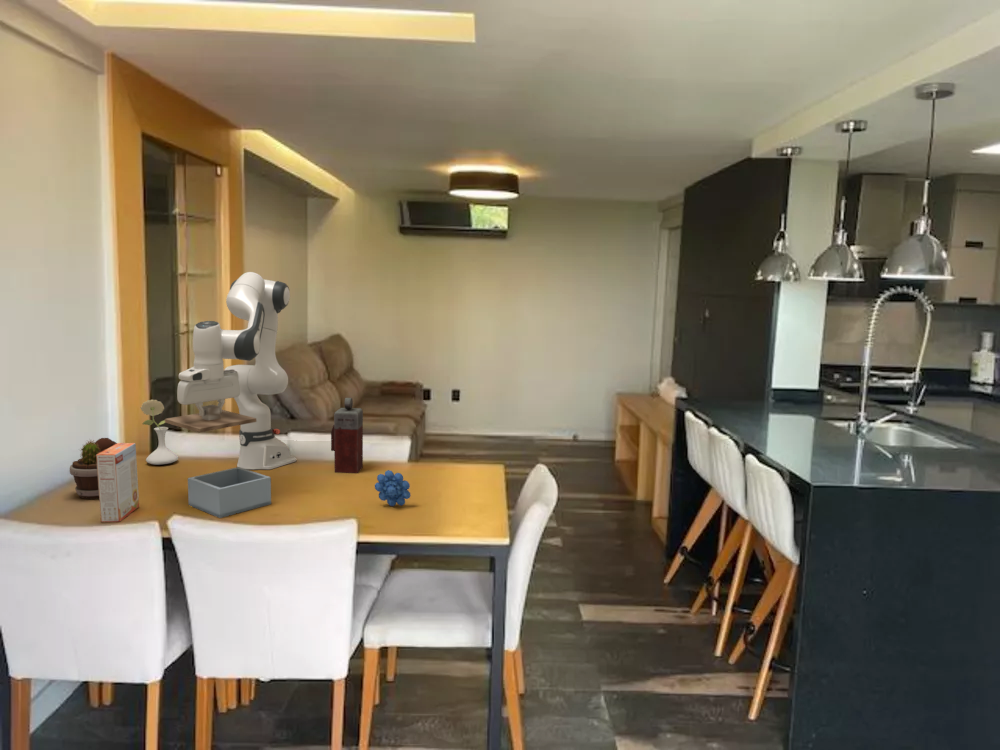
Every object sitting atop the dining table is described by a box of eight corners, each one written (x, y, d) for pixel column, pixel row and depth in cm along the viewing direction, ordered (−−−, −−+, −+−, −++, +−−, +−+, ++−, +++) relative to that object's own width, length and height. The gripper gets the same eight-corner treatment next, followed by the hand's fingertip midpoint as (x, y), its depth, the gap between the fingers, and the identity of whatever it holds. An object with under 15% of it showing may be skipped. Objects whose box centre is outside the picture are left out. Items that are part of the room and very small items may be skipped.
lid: (221, 412, 242) (221, 398, 241) (256, 421, 231) (255, 406, 230) (165, 422, 226) (164, 406, 226) (199, 432, 215) (198, 415, 214)
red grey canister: (334, 466, 275) (333, 395, 271) (362, 467, 275) (362, 396, 271) (328, 472, 266) (327, 399, 262) (357, 473, 266) (357, 400, 262)
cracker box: (120, 507, 221) (116, 442, 218) (140, 507, 222) (137, 442, 219) (98, 522, 207) (95, 453, 204) (120, 522, 208) (116, 453, 205)
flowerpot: (84, 488, 239) (81, 430, 237) (130, 488, 240) (128, 431, 237) (60, 501, 225) (56, 440, 222) (110, 501, 226) (106, 441, 223)
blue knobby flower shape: (372, 510, 225) (372, 473, 223) (375, 503, 232) (375, 467, 230) (409, 510, 225) (409, 474, 224) (411, 503, 232) (411, 468, 230)
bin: (239, 492, 239) (238, 466, 237) (271, 504, 228) (270, 477, 227) (188, 505, 225) (187, 478, 223) (220, 518, 214) (219, 489, 213)
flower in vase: (183, 459, 278) (181, 397, 275) (171, 467, 267) (169, 402, 264) (149, 459, 278) (146, 396, 274) (136, 466, 266) (133, 401, 263)
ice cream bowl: (122, 481, 247) (120, 440, 245) (87, 483, 244) (84, 441, 242) (130, 473, 257) (128, 433, 255) (96, 474, 255) (94, 434, 253)
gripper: (232, 367, 236) (233, 408, 238) (173, 374, 220) (175, 417, 222) (243, 369, 232) (244, 410, 234) (184, 376, 216) (186, 420, 218)
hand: (210, 414), depth 228 cm, fingers closed on lid, 4 cm apart
